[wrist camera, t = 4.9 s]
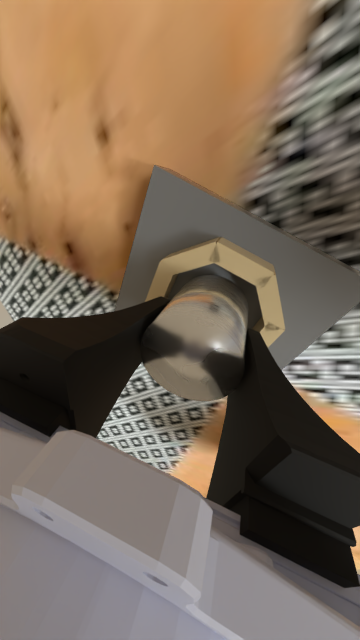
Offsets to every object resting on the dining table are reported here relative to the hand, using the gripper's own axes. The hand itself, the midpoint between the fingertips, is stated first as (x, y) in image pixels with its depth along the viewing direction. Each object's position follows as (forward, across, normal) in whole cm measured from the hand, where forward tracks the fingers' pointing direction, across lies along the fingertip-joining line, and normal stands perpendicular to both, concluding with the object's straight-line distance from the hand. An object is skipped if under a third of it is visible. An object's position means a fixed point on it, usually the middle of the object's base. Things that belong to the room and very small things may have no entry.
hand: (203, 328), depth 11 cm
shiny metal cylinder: (+2, 0, 0) cm, 2 cm away
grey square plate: (+5, 0, 0) cm, 5 cm away
